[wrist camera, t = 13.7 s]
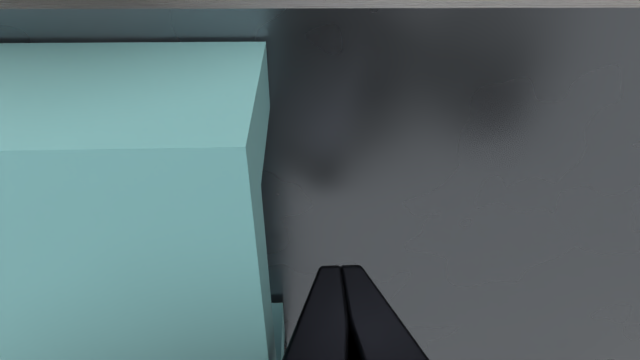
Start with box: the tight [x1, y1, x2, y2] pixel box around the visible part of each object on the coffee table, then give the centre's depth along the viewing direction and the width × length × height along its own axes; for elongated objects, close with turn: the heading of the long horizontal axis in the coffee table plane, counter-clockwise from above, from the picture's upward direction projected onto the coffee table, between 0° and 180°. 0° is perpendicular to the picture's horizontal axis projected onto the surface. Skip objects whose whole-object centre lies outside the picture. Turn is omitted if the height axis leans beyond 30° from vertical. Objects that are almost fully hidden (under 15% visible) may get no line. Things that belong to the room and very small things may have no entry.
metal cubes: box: [0, 0, 640, 360], centre depth 11 cm, size 20×15×4 cm
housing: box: [0, 42, 285, 360], centre depth 8 cm, size 7×8×4 cm
